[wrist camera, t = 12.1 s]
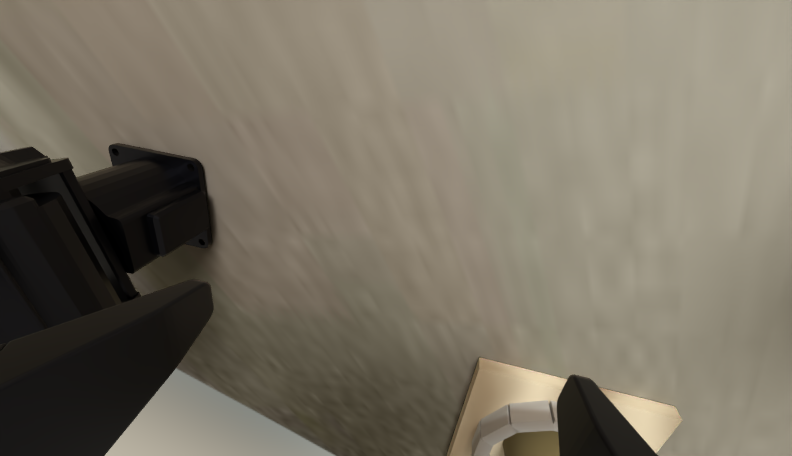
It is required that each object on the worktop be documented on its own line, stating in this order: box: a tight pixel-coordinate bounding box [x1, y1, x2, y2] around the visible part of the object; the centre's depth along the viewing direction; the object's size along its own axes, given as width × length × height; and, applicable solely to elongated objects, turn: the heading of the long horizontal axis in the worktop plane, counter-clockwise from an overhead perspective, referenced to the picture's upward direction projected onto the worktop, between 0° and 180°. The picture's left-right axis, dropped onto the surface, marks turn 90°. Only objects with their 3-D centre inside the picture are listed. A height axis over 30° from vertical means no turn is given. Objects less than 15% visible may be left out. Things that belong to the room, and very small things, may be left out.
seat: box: [447, 357, 682, 456], centre depth 26 cm, size 13×13×2 cm
